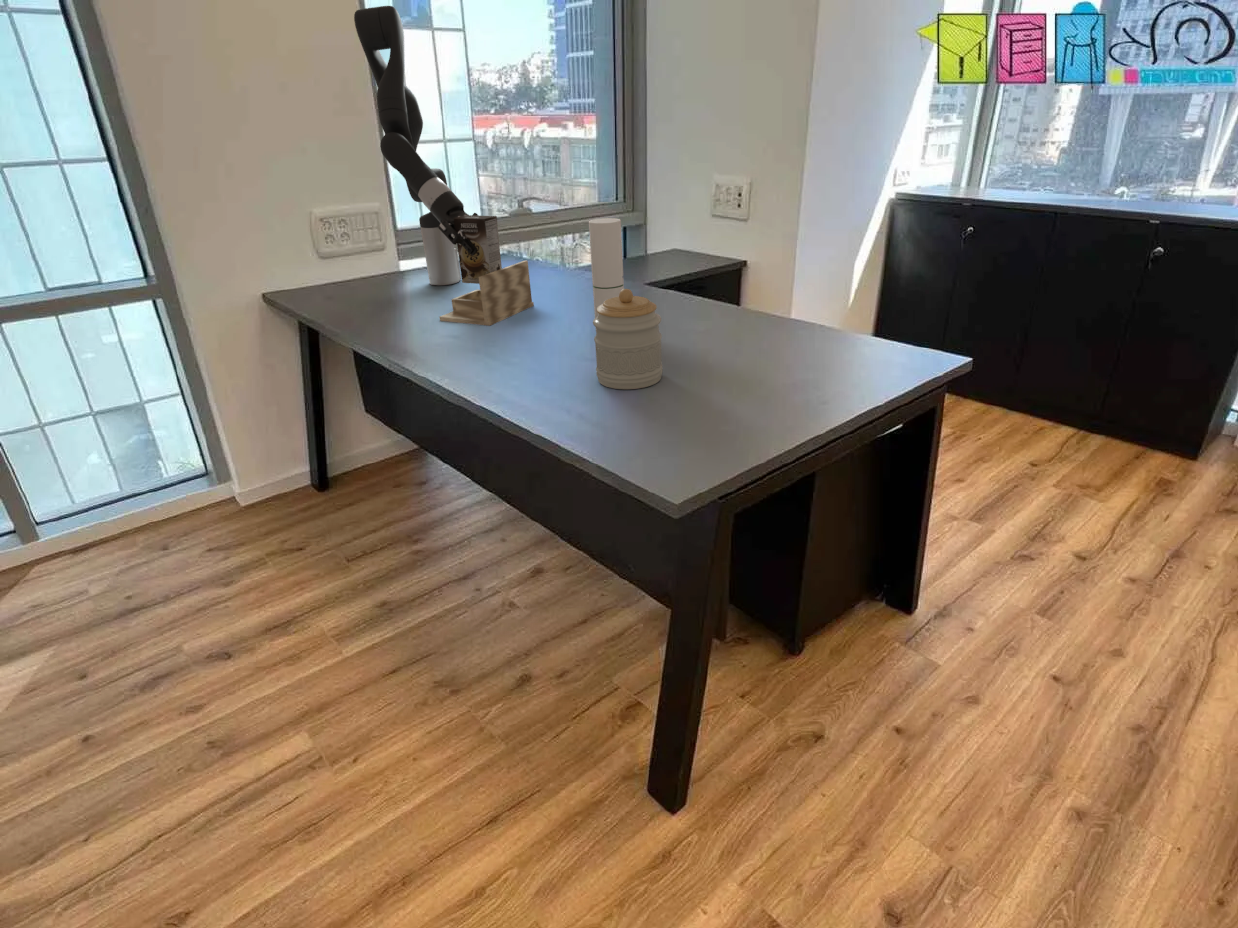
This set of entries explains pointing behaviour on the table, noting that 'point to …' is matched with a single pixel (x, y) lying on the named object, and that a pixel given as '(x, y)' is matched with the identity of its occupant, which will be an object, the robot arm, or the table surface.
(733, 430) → the table surface
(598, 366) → the jar
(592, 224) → the cylindrical container
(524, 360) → the table surface
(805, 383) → the table surface
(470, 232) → the coffee box
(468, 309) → the holder
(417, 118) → the robot arm
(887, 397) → the table surface
